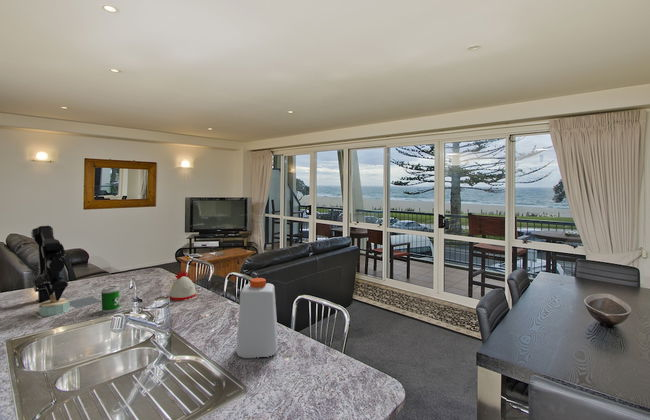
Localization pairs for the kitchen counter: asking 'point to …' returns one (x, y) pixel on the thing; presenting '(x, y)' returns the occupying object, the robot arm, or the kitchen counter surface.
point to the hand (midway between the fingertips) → (54, 298)
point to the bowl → (54, 309)
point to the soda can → (110, 299)
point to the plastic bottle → (257, 320)
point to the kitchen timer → (182, 287)
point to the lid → (54, 302)
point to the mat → (84, 302)
